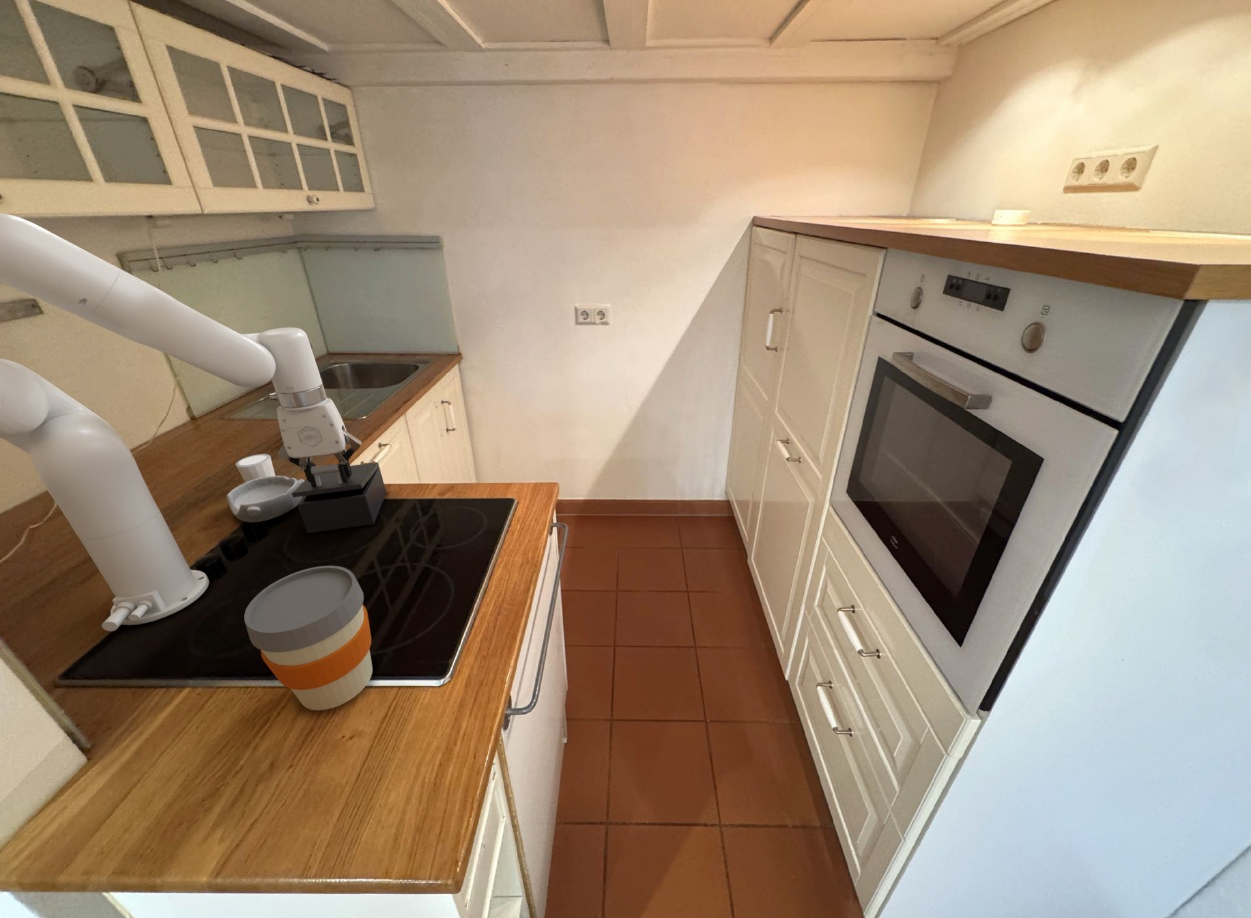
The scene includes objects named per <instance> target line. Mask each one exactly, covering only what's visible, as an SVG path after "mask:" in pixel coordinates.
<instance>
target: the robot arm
mask: <svg viewBox="0 0 1251 918" xmlns="http://www.w3.org/2000/svg"><path fill="white" fill-rule="evenodd" d="M0 284H5V285H6V286H9V287H11V288H13V289H16V290H18V291H20V292H23V293H25V294H26V295H29V296H31V297H34V298H36V299H38V300H41V301H42V302H44V303H45V302H46V303H48V304H50V305H52V306H54V307H56V308H58V309H61V310H63V311H66V312H67V313H70V314H72V315H75V316H77V317H79V318H81V319H83V320H86V321H88V322H90V323H92V324H95V325H96V326H99V327H101V328H103V329H105V330H108V331H110V332H111V333H114V334H116V335H119V336H120V337H123V338H125V339H128V340H130V341H132V342H135V343H138V344H140V345H143V346H146V347H149V348H151V349H154V350H156V351H159V352H162V353H164V354H167V355H168V356H171V357H173V358H174V359H178V360H179V361H181V362H184V363H186V364H189V365H190V366H193V367H195V368H197V369H200V370H202V371H204V372H206V373H208V374H211V375H213V376H215V377H217V378H219V379H222V380H223V381H226V382H228V383H230V384H232V385H235V386H237V387H242V388H249V389H251V388H258V387H262V386H264V385H266V384H267V383H268V382H270V381H271V382H272V385H273V387H274V390H275V391H274V392H273V393H269V395H268V397H269V400H270V401H272V402H273V401H275V402H278V405H279V406H278V407H277V408H276V415H277V421H278V427H279V431H280V435H281V439H282V443H283V444H282V445H281V447H280V449H279V451H278V452H277V456H278V457H279V458H282V459H284V460H287V461H289V462H290V463H291V464H293V465H295V466H297V467H299V469H301V470H302V471H303V472H304V475H305V478H306V480H307V481H308V482H310V483H311V486H312V487H316V486H317V485H316V481H315V477H314V475H313V474H312V473H311V467H314V466H317V465H316V463H314V462H312V457H321V456H329V455H334V457H335V458H336V460H337V461H338V464H339V465H338V468H339V471H340V474H341V477H342V480H343V482H344V483H347V482H348V481H349V479H350V477H351V476H352V470H351V467H350V466H351V464H350V459H351V458H352V456H353V455H354V454H355V453H356V451H358V450H359V449H360V448H361V446H362V445H363V442H362V440H360V439H359V438H357V437H355V435H353V434H351V433H350V432H348V431H347V428H346V426H345V423H344V421H343V418H342V416H341V414H340V412H339V410H338V407H337V406H336V405H335V403H334V401H333V400H332V398H330V397H328V396H327V393H326V389H325V387H324V383H323V379H322V377H321V374H320V370H319V367H318V365H317V361H316V359H315V358H316V357H315V355H314V353H313V349H312V346H311V343H310V338H309V337H308V335H307V332H305V331H304V330H303V329H302V328H300V327H295V326H294V327H293V326H292V327H277V328H272V329H268V330H265V331H263V332H254V333H240V332H238V331H235V330H233V329H232V328H230V327H228V326H226V325H224V324H222V323H220V322H218V321H217V320H214V319H213V318H210V317H209V316H206V315H205V314H203V313H201V312H199V311H197V310H196V309H194V308H191V307H190V306H188V305H186V304H185V303H183V302H181V301H179V300H177V298H174V297H173V296H171V295H170V294H168V293H166V292H165V291H163V290H161V289H159V288H158V287H155V286H154V285H152V284H150V283H148V282H146V281H145V280H143V279H141V278H139V277H137V276H135V275H133V274H131V273H129V272H127V271H125V270H123V269H122V268H119V267H118V266H116V265H113V264H112V263H110V262H108V261H106V260H104V259H102V258H101V257H99V256H97V255H95V254H93V253H91V252H89V251H87V250H85V249H84V248H82V247H80V246H78V245H76V244H74V243H72V242H70V241H68V240H66V239H65V238H63V237H61V236H59V235H57V234H55V233H53V232H52V231H49V230H48V229H46V228H43V227H42V226H40V225H38V224H36V223H34V222H32V221H29V220H27V219H25V218H22V217H19V216H17V215H13V214H9V213H1V212H0ZM0 439H3V441H6V442H8V443H10V444H11V445H13V446H14V447H16V448H18V449H20V450H21V451H23V452H25V453H26V454H29V455H30V457H31V461H32V464H33V467H34V470H35V472H36V474H37V477H38V478H39V480H40V482H41V483H42V485H43V487H45V489H46V491H47V492H48V493H49V495H50V496H51V498H52V499H53V500H54V502H55V503H56V505H57V506H58V508H59V510H60V511H61V512H62V514H63V516H64V517H65V518H66V520H67V522H68V524H69V525H70V527H71V528H72V531H74V533H75V534H76V536H77V537H78V539H79V540H80V542H81V544H82V545H83V547H84V549H85V551H86V552H87V553H88V555H89V556H90V558H91V559H92V562H93V563H94V564H95V566H96V568H97V569H98V571H99V573H100V574H101V576H102V577H103V579H104V580H105V582H106V584H107V585H108V587H109V589H110V591H111V592H112V594H113V595H114V598H113V599H112V600H111V602H112V603H113V605H112V606H111V609H110V615H109V616H108V617H107V618H106V619H105V620H104V621H103V622H102V624H101V627H102V629H103V630H104V631H105V632H115V631H117V630H118V629H119V628H120V626H121V625H122V626H137V625H143V624H147V623H150V622H151V623H152V622H155V621H158V620H161V619H163V618H166V617H168V616H171V615H173V614H175V613H177V612H179V611H181V610H183V609H185V608H186V607H188V606H189V605H191V604H192V603H194V602H195V601H197V600H198V599H199V598H200V597H201V596H202V595H203V594H204V593H205V592H206V590H207V589H208V587H209V584H210V580H209V578H208V576H207V574H206V573H205V572H203V571H201V570H196V569H191V568H190V566H189V564H188V562H187V560H186V558H185V556H184V554H183V552H182V551H181V548H180V547H179V545H178V543H177V541H176V539H175V537H174V536H173V533H172V532H171V529H170V527H169V526H168V524H167V522H166V520H165V518H164V516H163V514H162V512H161V510H160V509H159V507H158V505H157V503H156V500H155V499H154V497H153V495H152V493H151V491H150V489H149V487H148V485H147V484H146V481H145V479H144V477H143V474H142V473H141V471H140V469H139V466H138V463H137V462H136V460H135V457H134V456H133V453H132V451H131V450H130V448H129V447H128V445H127V443H126V442H125V440H124V439H123V438H122V437H121V435H120V434H119V433H118V432H117V431H116V430H115V428H114V427H113V426H112V425H111V424H110V423H109V422H108V421H107V420H105V419H104V418H102V417H101V416H100V415H98V414H96V413H95V412H94V411H92V410H91V409H89V408H88V407H86V406H85V405H83V404H82V403H80V402H79V401H78V400H76V399H74V397H72V396H70V395H69V394H67V393H66V392H65V391H63V390H61V389H60V388H59V387H57V386H56V385H55V384H53V383H51V382H50V381H49V380H47V379H46V378H44V377H43V376H41V375H39V374H38V373H37V372H36V371H34V370H32V369H30V368H28V367H27V366H25V365H22V364H21V363H19V362H16V361H13V360H10V359H5V358H0ZM348 444H349V445H350V446H349V447H348V448H347V449H346V445H348Z"/></svg>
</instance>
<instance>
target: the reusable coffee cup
mask: <svg viewBox="0 0 1251 918" xmlns="http://www.w3.org/2000/svg"><path fill="white" fill-rule="evenodd" d="M364 599H365V596H364V592H363V589H362V588H361V586H360V584H359V582H358V580H357V578H356V576H355V573H353V572H352V571H351V570H350V569H348V568H346V567H343V566H339V565H319V566H315V567H314V566H313V567H310V568H309V567H308V568H305V569H302V570H299V571H296V572H293V573H291V574H289V575H286V576H284V577H281V578H280V579H278V580H276V581H274V582H273V583H271V584H269V585H268V586H267V587H265V588H264V589H262V590H260V592H259V593H258V594H257V595H255V597H253V599H252V600H251V601H250V602H249V604H248V605H247V607H246V608H245V612H244V615H243V616H244V618H243V619H244V624H245V627H246V630H247V635H248V637H249V640H250V642H251V644H252V646H253V647H255V648H257V650H260V655H261V656H260V657H261V658H262V660H263V662H264V663H265V665H266V666H267V667H268V669H269V670H270V671H271V672H272V674H274V676H275V678H276V679H277V680H278V681H279V682H280V684H281V685H282V686H284V687H285V688H288V689H290V690H291V691H292V693H293V695H294V696H295V697H296V699H298V701H299V702H300V703H301V705H302V706H303V707H305V708H306V709H308V710H310V711H326V710H331V709H334V708H336V707H339V706H342V705H343V704H346V703H347V702H349V701H350V700H352V699H354V698H355V697H356V696H357V695H359V694H360V693H361V692H362V691H363V690H364V689H365V688H366V686H367V685H368V683H369V682H370V680H371V678H372V675H373V663H372V657H371V650H370V649H371V645H372V635H371V627H370V621H369V615H368V611H367V608H366V606H365V605H364Z"/></svg>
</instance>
